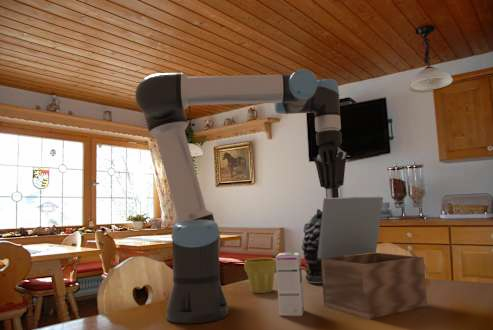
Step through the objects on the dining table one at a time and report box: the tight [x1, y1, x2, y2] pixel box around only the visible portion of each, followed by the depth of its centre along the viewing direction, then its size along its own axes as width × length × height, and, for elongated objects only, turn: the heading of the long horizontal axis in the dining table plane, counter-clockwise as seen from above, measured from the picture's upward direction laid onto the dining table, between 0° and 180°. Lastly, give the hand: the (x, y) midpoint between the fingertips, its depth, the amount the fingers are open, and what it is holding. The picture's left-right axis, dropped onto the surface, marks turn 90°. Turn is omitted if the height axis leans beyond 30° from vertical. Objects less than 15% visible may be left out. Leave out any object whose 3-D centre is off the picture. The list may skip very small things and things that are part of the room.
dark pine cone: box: [301, 208, 343, 284], centre depth 144 cm, size 21×15×25 cm
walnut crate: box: [321, 252, 428, 320], centre depth 104 cm, size 20×16×12 cm
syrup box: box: [275, 251, 305, 317], centre depth 101 cm, size 6×6×14 cm
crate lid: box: [317, 196, 384, 259], centre depth 112 cm, size 20×16×1 cm
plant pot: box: [243, 257, 276, 294], centre depth 129 cm, size 10×10×10 cm
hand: (333, 210), depth 118 cm, fingers closed
